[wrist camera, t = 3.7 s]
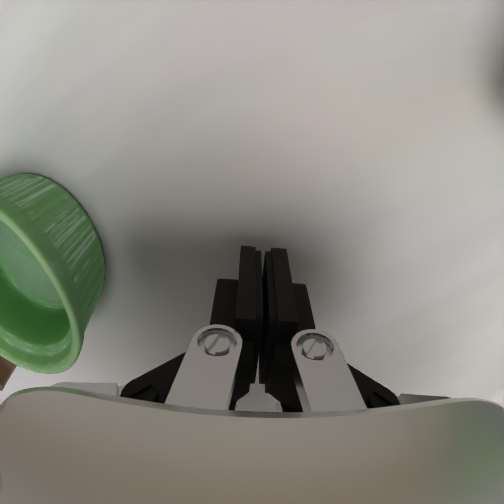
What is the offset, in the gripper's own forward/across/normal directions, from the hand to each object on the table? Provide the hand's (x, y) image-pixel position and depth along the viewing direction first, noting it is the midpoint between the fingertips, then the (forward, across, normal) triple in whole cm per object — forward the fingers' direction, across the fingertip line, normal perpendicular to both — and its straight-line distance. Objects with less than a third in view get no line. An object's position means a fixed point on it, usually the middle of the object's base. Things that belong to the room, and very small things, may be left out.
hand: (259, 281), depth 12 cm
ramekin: (+2, +11, 0) cm, 11 cm away
